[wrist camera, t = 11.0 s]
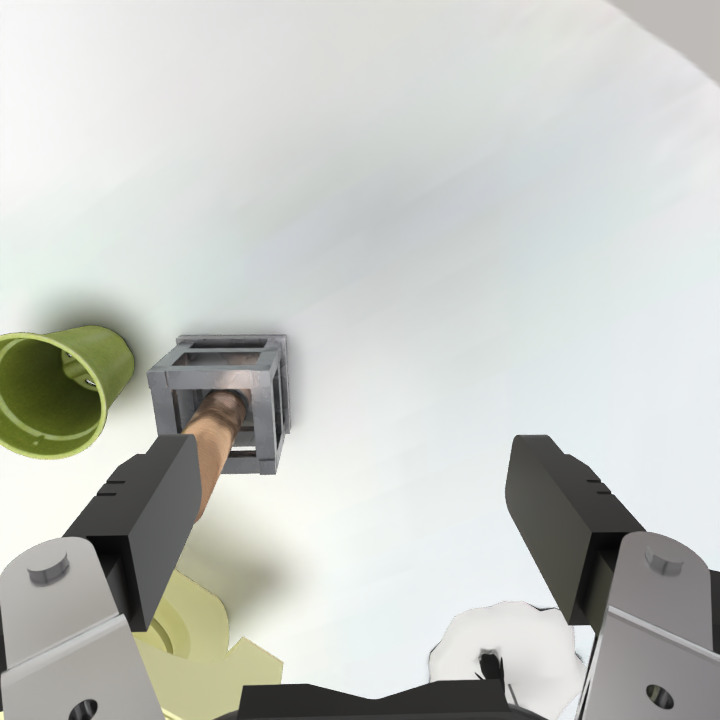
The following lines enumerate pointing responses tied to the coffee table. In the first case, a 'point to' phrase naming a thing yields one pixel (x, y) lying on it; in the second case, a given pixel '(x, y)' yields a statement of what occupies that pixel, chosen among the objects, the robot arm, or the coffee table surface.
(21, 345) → the plant pot
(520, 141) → the coffee table surface
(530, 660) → the figurine
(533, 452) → the robot arm
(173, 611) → the slatted curved stool
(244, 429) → the metal frame cube
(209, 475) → the tube
